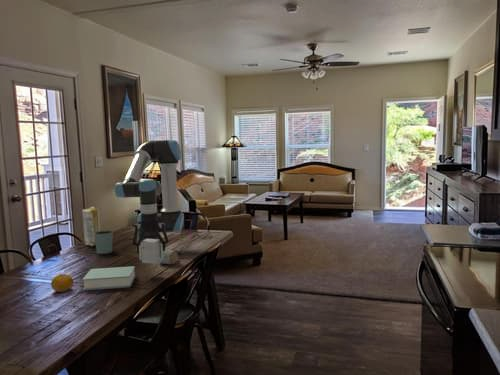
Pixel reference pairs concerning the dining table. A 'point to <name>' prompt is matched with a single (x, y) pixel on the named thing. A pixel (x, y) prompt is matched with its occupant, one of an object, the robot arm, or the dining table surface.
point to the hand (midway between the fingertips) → (151, 258)
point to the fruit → (62, 282)
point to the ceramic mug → (169, 257)
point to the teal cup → (103, 241)
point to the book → (109, 278)
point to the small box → (151, 251)
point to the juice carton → (90, 225)
